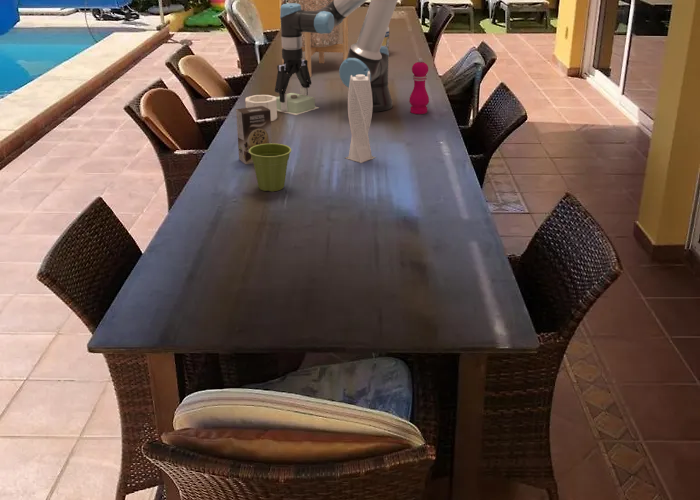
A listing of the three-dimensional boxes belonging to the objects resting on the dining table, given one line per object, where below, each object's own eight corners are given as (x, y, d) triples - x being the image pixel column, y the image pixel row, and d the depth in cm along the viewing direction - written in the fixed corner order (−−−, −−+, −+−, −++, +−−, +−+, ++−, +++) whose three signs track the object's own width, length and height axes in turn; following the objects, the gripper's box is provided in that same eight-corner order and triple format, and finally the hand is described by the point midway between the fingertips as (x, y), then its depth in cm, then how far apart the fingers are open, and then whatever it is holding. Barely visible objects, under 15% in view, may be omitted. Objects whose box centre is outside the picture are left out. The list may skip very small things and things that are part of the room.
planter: (350, 70, 356) (348, -4, 342) (307, 78, 345) (304, 1, 330) (323, 62, 373) (320, -10, 359) (281, 69, 361) (277, -5, 347)
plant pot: (276, 198, 216) (274, 159, 211) (242, 190, 222) (239, 151, 217) (301, 185, 225) (299, 147, 220) (268, 177, 231) (266, 140, 226)
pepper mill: (427, 115, 289) (429, 60, 281) (407, 114, 291) (409, 59, 282) (429, 109, 296) (431, 56, 287) (410, 108, 297) (411, 55, 288)
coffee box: (245, 165, 241) (242, 113, 234) (238, 159, 246) (234, 108, 239) (273, 160, 245) (270, 109, 238) (265, 154, 250) (262, 104, 243)
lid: (315, 108, 298) (314, 95, 296) (296, 113, 291) (296, 100, 289) (292, 102, 305) (291, 90, 302) (273, 108, 298) (273, 95, 296)
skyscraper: (379, 159, 245) (380, 69, 233) (362, 166, 240) (362, 74, 228) (359, 153, 251) (359, 65, 239) (342, 160, 245) (341, 70, 233)
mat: (319, 108, 298) (319, 107, 298) (296, 116, 289) (296, 115, 289) (292, 102, 306) (292, 101, 306) (269, 109, 297) (268, 108, 297)
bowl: (283, 118, 287) (282, 98, 283) (261, 125, 279) (260, 104, 276) (262, 113, 293) (261, 93, 290) (240, 119, 285) (239, 99, 282)
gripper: (305, 41, 298) (307, 99, 307) (262, 51, 282) (265, 112, 292) (320, 44, 294) (321, 102, 303) (277, 54, 278) (280, 115, 288)
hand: (294, 107), depth 298 cm, fingers closed on lid, 10 cm apart
